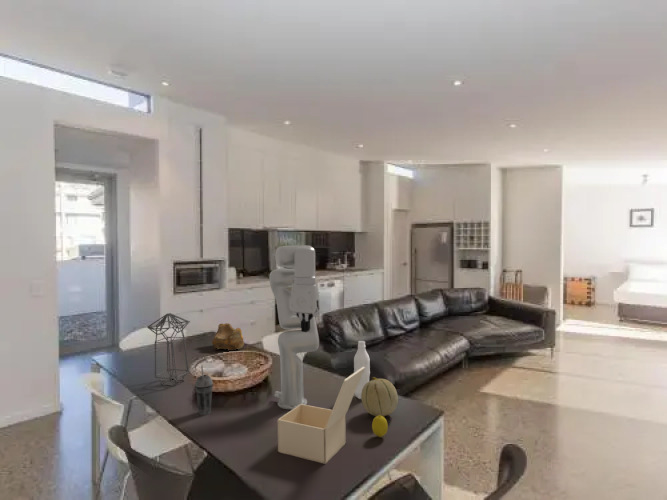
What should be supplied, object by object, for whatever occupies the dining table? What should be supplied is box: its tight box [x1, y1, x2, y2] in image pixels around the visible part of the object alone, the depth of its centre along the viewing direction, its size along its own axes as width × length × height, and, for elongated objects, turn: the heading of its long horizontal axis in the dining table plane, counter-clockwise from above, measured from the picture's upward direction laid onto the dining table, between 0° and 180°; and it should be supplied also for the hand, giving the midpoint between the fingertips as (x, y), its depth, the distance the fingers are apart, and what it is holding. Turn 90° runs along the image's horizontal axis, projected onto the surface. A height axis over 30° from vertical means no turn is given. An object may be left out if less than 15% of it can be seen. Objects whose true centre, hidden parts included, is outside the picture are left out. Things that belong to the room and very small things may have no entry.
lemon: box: [371, 415, 389, 438], centre depth 157 cm, size 6×6×8 cm
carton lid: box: [325, 367, 365, 430], centre depth 144 cm, size 18×15×1 cm
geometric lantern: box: [147, 312, 191, 385], centre depth 219 cm, size 16×16×35 cm
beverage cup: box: [194, 365, 214, 416], centre depth 181 cm, size 7×7×20 cm
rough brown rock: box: [211, 322, 245, 351], centre depth 284 cm, size 23×17×15 cm
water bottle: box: [353, 340, 371, 400], centre depth 196 cm, size 7×7×25 cm
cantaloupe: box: [360, 376, 399, 417], centre depth 176 cm, size 15×15×15 cm
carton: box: [276, 404, 347, 465], centre depth 150 cm, size 18×15×11 cm
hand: (305, 331), depth 160 cm, fingers closed
